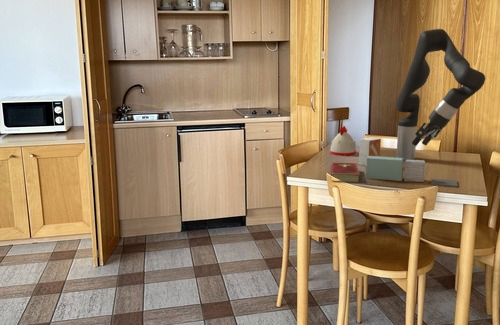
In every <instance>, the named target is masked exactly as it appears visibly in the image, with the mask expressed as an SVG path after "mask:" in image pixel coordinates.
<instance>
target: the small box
mask: <svg viewBox="0 0 500 325" xmlns="http://www.w3.org/2000/svg"><path fill="white" fill-rule="evenodd" d="M381 140H382V139H381V138H379V137H373V136H370V137H364V138H360V139H359V155H358V165H360V166H364V167H367V157H368V156H379V157H381Z"/></svg>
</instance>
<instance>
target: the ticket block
mask: <svg viewBox="0 0 500 325" xmlns="http://www.w3.org/2000/svg"><path fill="white" fill-rule="evenodd" d="M404 161H405V160H404V158H396V156H395V157H391V156H380V157H379V156H368V157H367V166H366V173H365V179H371V180H372V179H373V180H386V181H387V180H388V181H399V182H402V180H403V177H404V176H403V175H404Z"/></svg>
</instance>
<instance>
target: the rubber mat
mask: <svg viewBox="0 0 500 325" xmlns="http://www.w3.org/2000/svg"><path fill="white" fill-rule="evenodd" d="M430 182H431V184H430V185H431V186H436V185H438V187H448V186H450V187H451V188H452V187H453V188H458V180H456V179H443V178H434V177H433V178H432V177H431V181H430ZM450 187H449V188H450Z"/></svg>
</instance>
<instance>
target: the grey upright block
mask: <svg viewBox="0 0 500 325" xmlns="http://www.w3.org/2000/svg"><path fill="white" fill-rule="evenodd" d="M404 165H405V168H404V181H405V182H416V183H417V182H419V183H424V182H425V173H426V172H425V168H426V161H425V160H422V159H421V160H419V159H414V160H405V164H404Z"/></svg>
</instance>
